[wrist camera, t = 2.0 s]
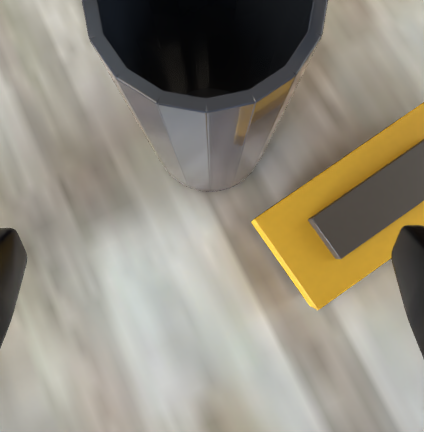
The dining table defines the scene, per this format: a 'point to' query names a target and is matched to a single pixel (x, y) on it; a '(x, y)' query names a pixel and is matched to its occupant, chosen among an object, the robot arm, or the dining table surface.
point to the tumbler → (206, 76)
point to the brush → (350, 212)
